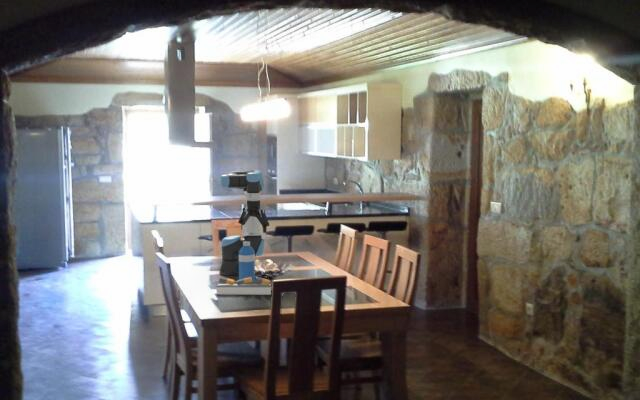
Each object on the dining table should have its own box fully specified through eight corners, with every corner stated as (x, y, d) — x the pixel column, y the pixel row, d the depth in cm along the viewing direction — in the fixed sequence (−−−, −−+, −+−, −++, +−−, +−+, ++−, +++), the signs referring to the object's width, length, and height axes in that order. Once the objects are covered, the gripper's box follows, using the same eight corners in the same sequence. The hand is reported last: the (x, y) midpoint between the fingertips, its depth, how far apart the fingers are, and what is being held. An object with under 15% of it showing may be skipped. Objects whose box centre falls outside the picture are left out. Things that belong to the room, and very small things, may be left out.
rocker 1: (220, 279, 387) (220, 276, 387) (233, 283, 387) (234, 280, 387) (218, 281, 382) (219, 278, 382) (232, 285, 382) (233, 281, 382)
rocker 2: (238, 283, 387) (237, 280, 387) (252, 279, 387) (251, 276, 387) (237, 285, 382) (236, 281, 382) (251, 281, 382) (250, 278, 382)
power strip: (219, 290, 390) (219, 281, 390) (272, 290, 390) (272, 281, 390) (216, 294, 380) (216, 285, 380) (270, 294, 380) (270, 285, 380)
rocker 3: (255, 279, 387) (256, 276, 387) (269, 283, 387) (270, 280, 387) (254, 281, 382) (255, 278, 382) (268, 285, 382) (269, 282, 382)
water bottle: (240, 286, 399) (239, 243, 397) (237, 282, 408) (237, 241, 406) (256, 285, 402) (255, 242, 399) (253, 281, 411) (253, 240, 408)
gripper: (231, 199, 391) (232, 236, 394) (267, 202, 378) (267, 240, 381) (240, 197, 398) (240, 234, 400) (275, 200, 385) (275, 238, 387)
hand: (253, 237), depth 391 cm, fingers open, 13 cm apart
